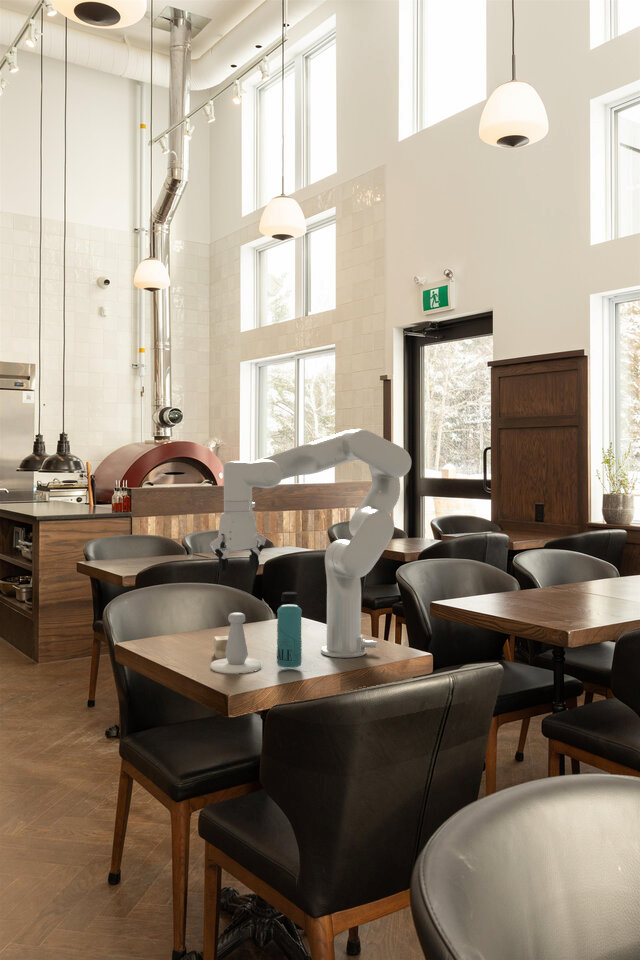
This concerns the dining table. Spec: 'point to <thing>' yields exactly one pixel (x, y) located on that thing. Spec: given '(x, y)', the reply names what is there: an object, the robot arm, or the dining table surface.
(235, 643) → the salt shaker
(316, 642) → the dining table surface
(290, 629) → the beverage bottle
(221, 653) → the oak block
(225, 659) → the side plate
